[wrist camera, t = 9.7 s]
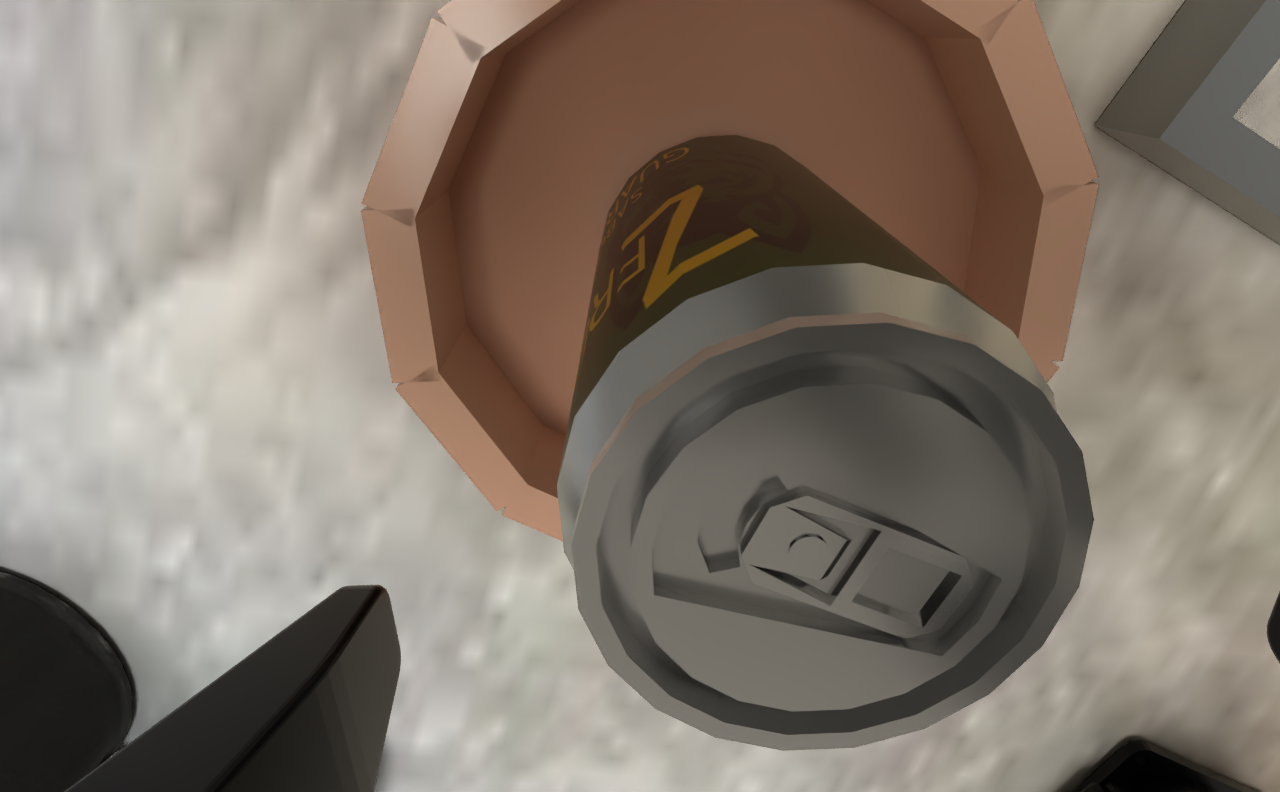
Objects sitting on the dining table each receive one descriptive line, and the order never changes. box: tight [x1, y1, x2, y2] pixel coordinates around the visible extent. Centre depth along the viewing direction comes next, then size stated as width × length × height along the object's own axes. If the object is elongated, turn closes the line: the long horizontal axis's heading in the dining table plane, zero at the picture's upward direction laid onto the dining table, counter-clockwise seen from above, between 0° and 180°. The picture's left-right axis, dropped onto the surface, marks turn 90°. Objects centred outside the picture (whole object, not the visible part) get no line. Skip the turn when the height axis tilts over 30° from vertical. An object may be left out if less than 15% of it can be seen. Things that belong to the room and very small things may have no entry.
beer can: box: [557, 135, 1094, 750], centre depth 13 cm, size 5×5×12 cm
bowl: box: [361, 0, 1099, 541], centre depth 18 cm, size 14×14×4 cm
